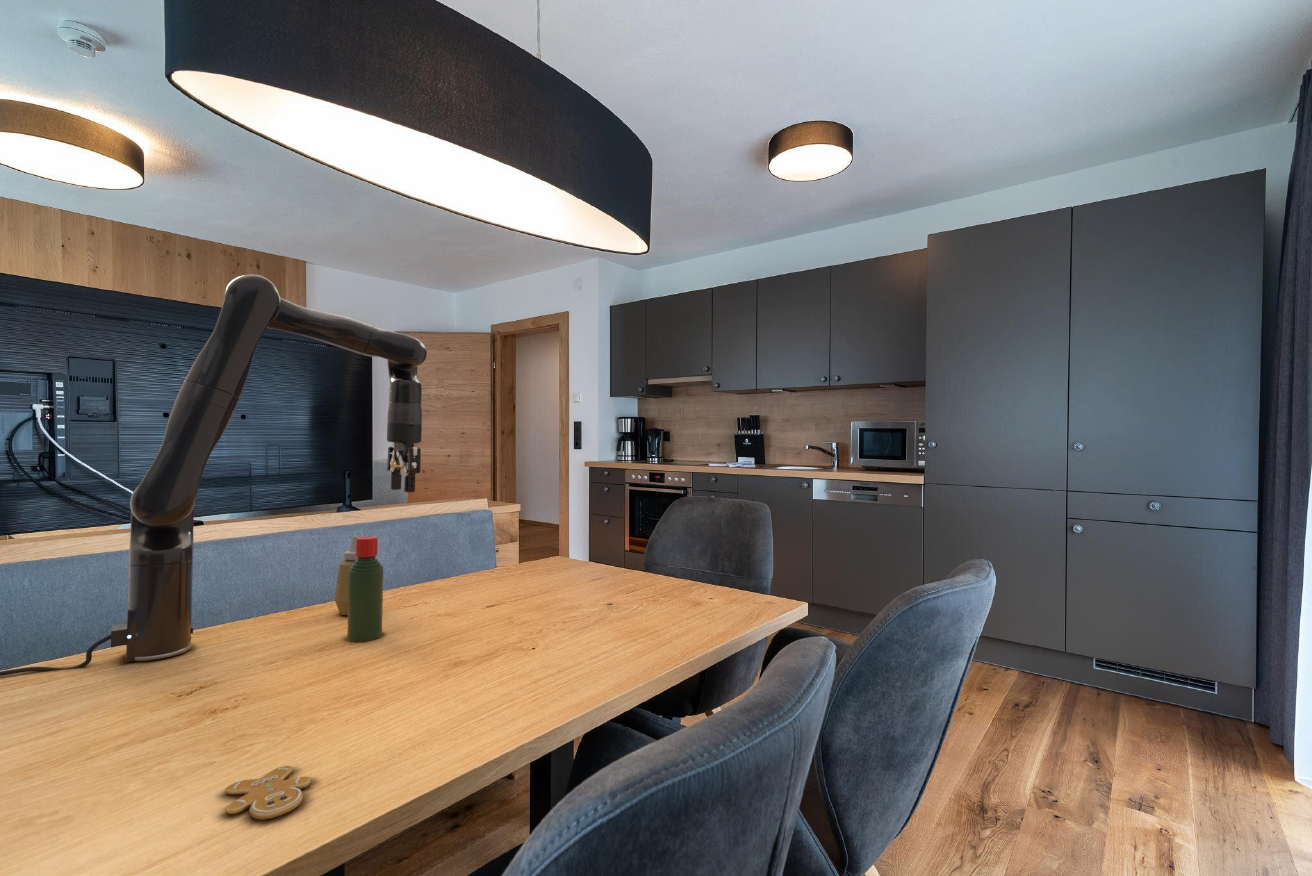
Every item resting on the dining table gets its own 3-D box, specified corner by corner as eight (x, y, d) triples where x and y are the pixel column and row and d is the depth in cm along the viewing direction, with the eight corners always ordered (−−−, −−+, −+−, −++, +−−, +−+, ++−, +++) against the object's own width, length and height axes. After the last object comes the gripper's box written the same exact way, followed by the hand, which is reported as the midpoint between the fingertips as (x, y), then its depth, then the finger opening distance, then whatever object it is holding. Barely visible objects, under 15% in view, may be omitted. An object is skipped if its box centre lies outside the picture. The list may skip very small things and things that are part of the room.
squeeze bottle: (379, 611, 138) (381, 535, 138) (346, 619, 131) (348, 539, 131) (360, 606, 142) (361, 532, 143) (327, 613, 135) (328, 536, 136)
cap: (359, 558, 117) (359, 539, 117) (353, 555, 120) (354, 537, 120) (379, 556, 120) (379, 538, 120) (373, 553, 123) (374, 535, 123)
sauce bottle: (352, 644, 115) (354, 543, 116) (343, 635, 120) (345, 539, 120) (386, 637, 120) (388, 540, 120) (376, 629, 124) (378, 536, 125)
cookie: (297, 757, 72) (326, 789, 65) (296, 765, 72) (325, 798, 65) (214, 786, 65) (236, 824, 59) (214, 794, 65) (236, 834, 59)
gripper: (377, 422, 140) (375, 489, 140) (399, 421, 130) (397, 493, 129) (409, 423, 145) (407, 488, 145) (432, 422, 135) (430, 492, 135)
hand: (402, 490), depth 137 cm, fingers open, 8 cm apart
